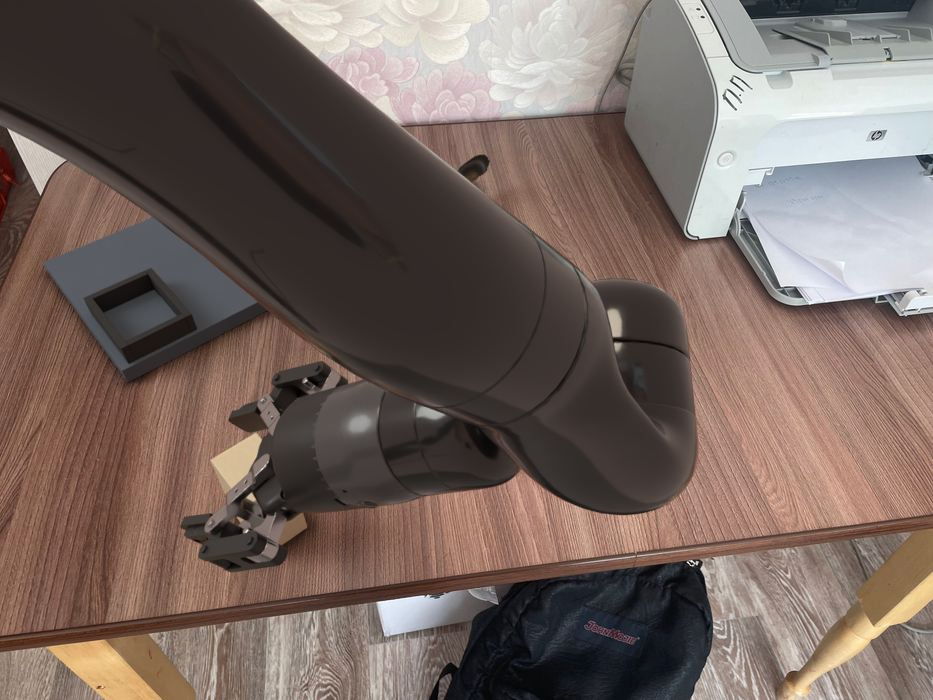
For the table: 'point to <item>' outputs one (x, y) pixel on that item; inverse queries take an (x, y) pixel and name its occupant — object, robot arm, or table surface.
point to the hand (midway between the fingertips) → (216, 473)
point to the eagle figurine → (474, 167)
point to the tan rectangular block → (237, 466)
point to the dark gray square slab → (149, 296)
